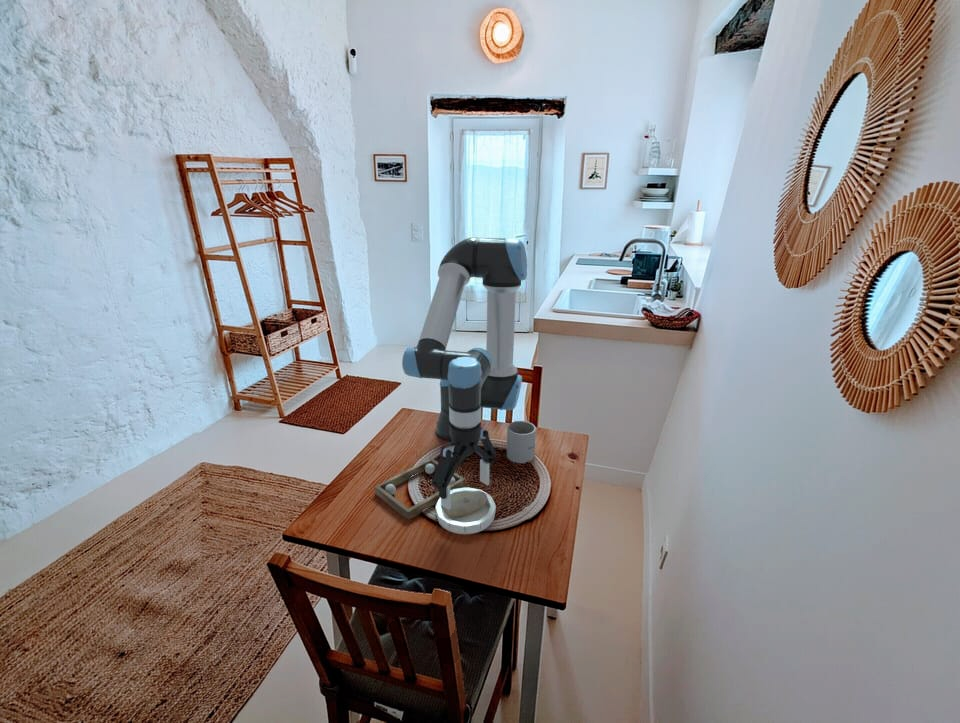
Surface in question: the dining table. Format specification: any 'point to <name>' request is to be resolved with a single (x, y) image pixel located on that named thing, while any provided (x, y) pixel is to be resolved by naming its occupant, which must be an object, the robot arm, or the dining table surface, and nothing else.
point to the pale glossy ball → (429, 468)
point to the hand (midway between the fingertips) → (466, 494)
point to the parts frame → (404, 476)
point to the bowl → (468, 522)
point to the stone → (466, 503)
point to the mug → (521, 441)
